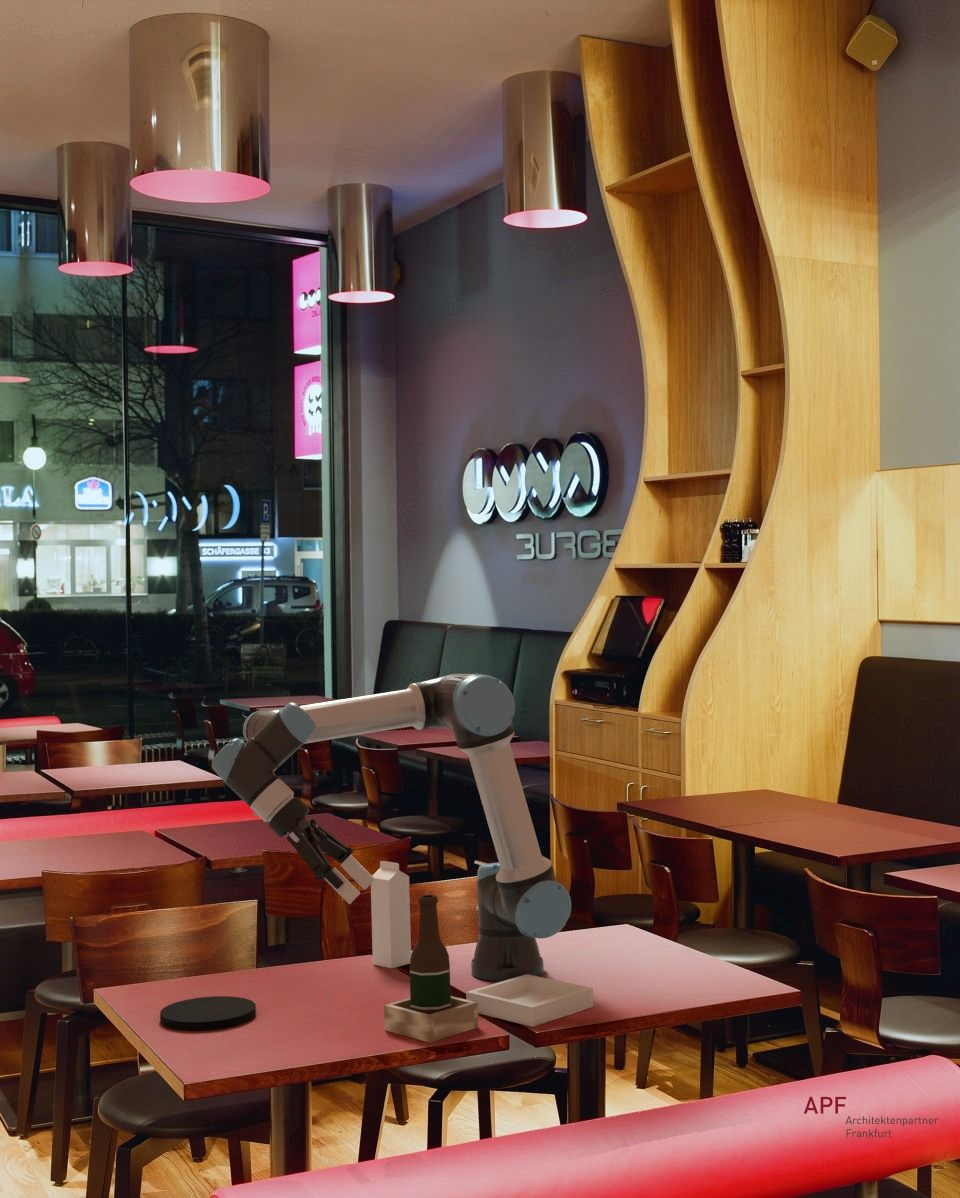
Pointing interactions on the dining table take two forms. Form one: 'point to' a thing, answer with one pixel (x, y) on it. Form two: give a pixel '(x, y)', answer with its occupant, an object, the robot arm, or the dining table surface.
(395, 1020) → the box
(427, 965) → the beer bottle
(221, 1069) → the dining table surface
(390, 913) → the milk
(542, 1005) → the tray
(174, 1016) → the wireless charger
